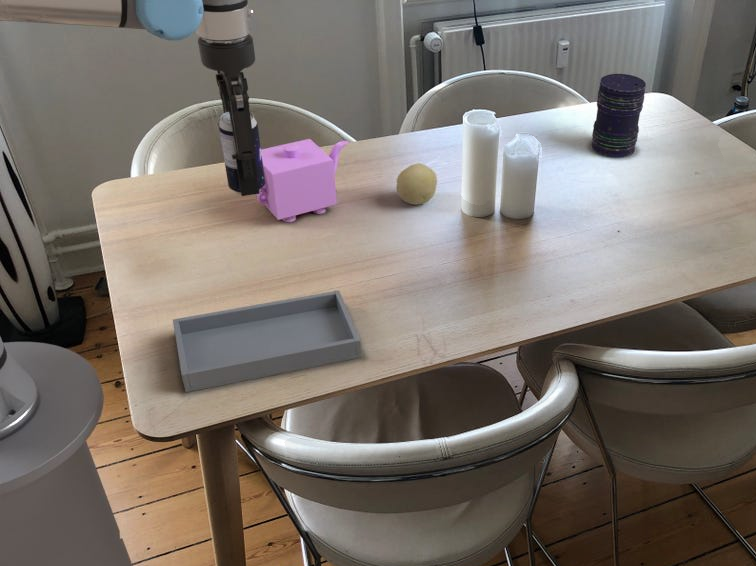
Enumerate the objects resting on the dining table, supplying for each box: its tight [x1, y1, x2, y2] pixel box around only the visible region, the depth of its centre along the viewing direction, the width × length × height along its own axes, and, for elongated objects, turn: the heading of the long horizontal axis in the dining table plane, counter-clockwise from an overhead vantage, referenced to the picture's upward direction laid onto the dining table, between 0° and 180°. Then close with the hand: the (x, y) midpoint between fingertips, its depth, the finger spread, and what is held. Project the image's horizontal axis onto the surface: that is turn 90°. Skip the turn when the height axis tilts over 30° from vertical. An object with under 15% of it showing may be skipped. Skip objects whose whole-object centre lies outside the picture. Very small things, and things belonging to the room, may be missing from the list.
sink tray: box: [172, 290, 362, 393], centre depth 126 cm, size 26×14×3 cm, turn 111°
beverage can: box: [218, 112, 265, 196], centre depth 128 cm, size 6×6×12 cm
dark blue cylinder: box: [590, 73, 647, 159], centre depth 180 cm, size 10×10×15 cm
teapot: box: [256, 138, 350, 223], centre depth 156 cm, size 20×10×12 cm, turn 123°
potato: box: [395, 163, 438, 205], centre depth 160 cm, size 8×8×8 cm
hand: (246, 184), depth 131 cm, fingers closed on beverage can, 6 cm apart
